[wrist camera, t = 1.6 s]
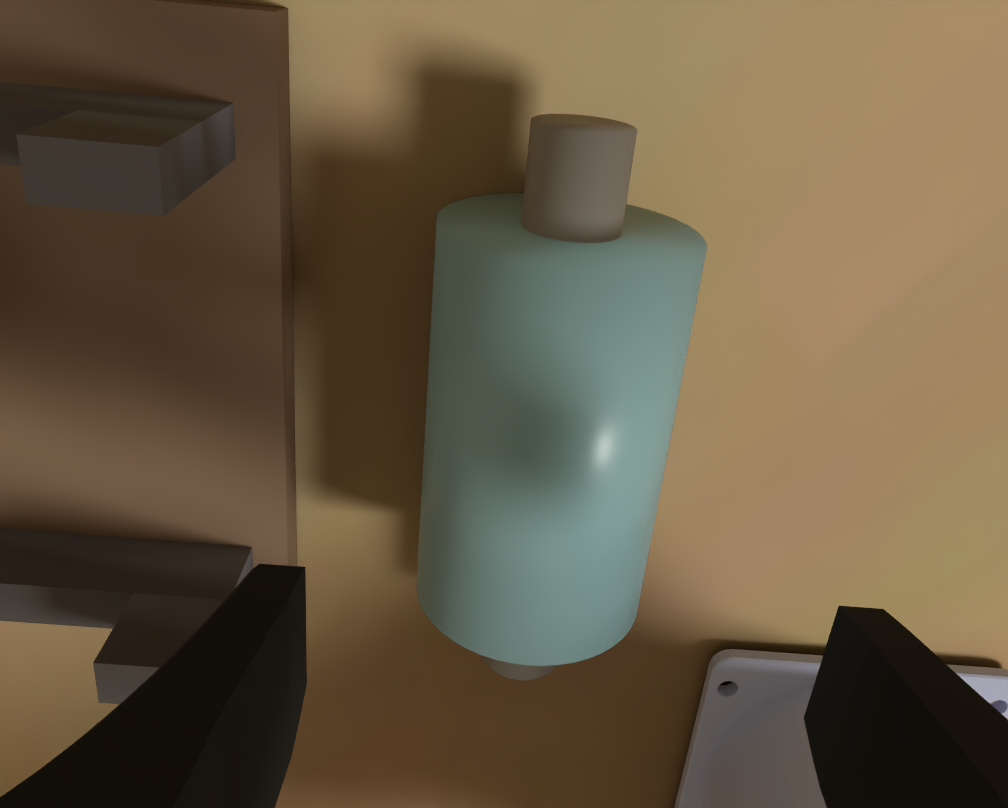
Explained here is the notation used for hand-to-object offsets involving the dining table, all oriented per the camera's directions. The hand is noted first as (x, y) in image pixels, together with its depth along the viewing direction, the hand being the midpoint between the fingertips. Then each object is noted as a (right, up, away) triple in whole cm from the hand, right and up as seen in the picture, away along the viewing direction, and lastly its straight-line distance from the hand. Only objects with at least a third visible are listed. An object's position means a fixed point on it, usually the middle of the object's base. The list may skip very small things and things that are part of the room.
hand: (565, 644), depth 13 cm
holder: (-10, +5, +7) cm, 13 cm away
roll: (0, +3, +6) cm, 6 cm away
